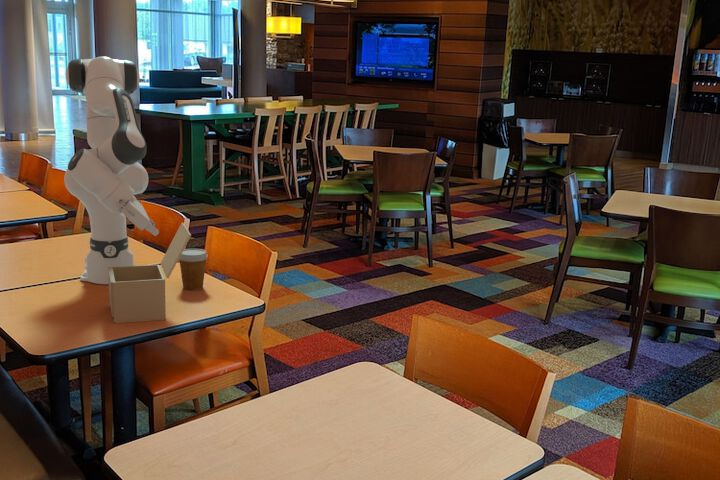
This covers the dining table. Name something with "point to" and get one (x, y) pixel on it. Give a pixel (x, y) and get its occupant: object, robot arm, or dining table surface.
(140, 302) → the carton
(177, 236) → the lid flap
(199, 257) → the disposable coffee cup
